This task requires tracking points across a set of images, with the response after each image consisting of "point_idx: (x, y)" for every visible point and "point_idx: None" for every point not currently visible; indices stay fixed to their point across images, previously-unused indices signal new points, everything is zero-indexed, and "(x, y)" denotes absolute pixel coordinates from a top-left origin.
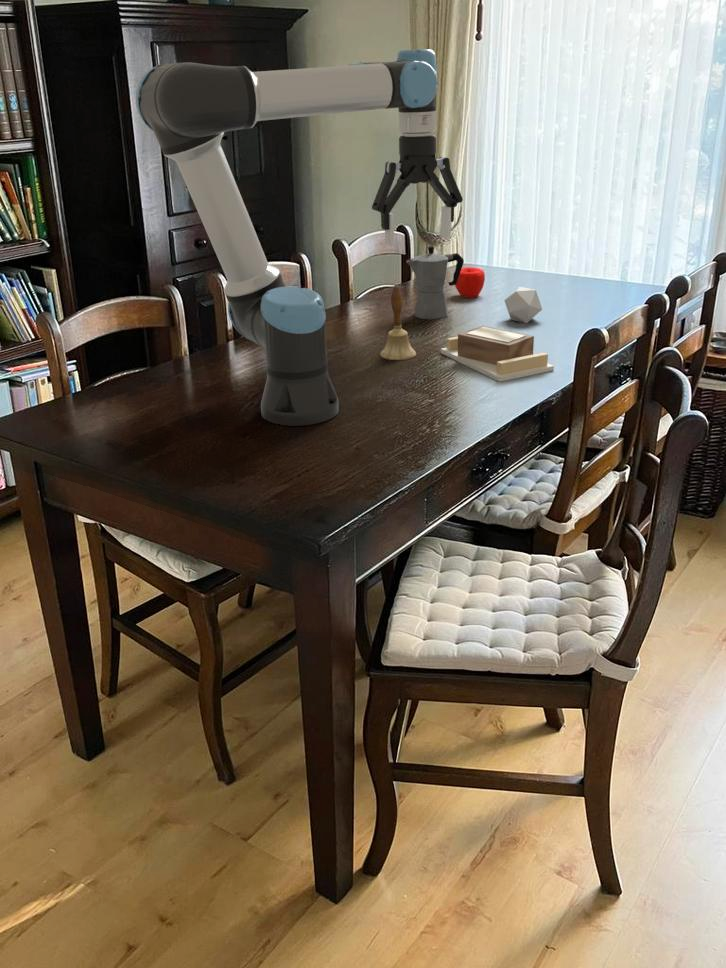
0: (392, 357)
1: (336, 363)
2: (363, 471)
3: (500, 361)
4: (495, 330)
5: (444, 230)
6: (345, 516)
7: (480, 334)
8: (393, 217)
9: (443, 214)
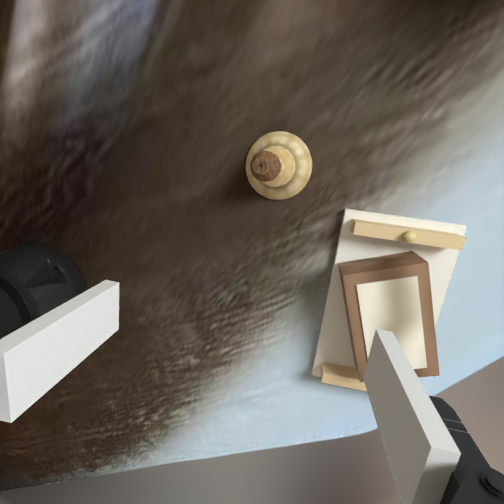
0: (252, 185)
1: (166, 138)
2: (47, 442)
3: (327, 376)
4: (412, 310)
5: (377, 375)
6: (8, 484)
7: (369, 309)
8: (27, 406)
9: (404, 426)
